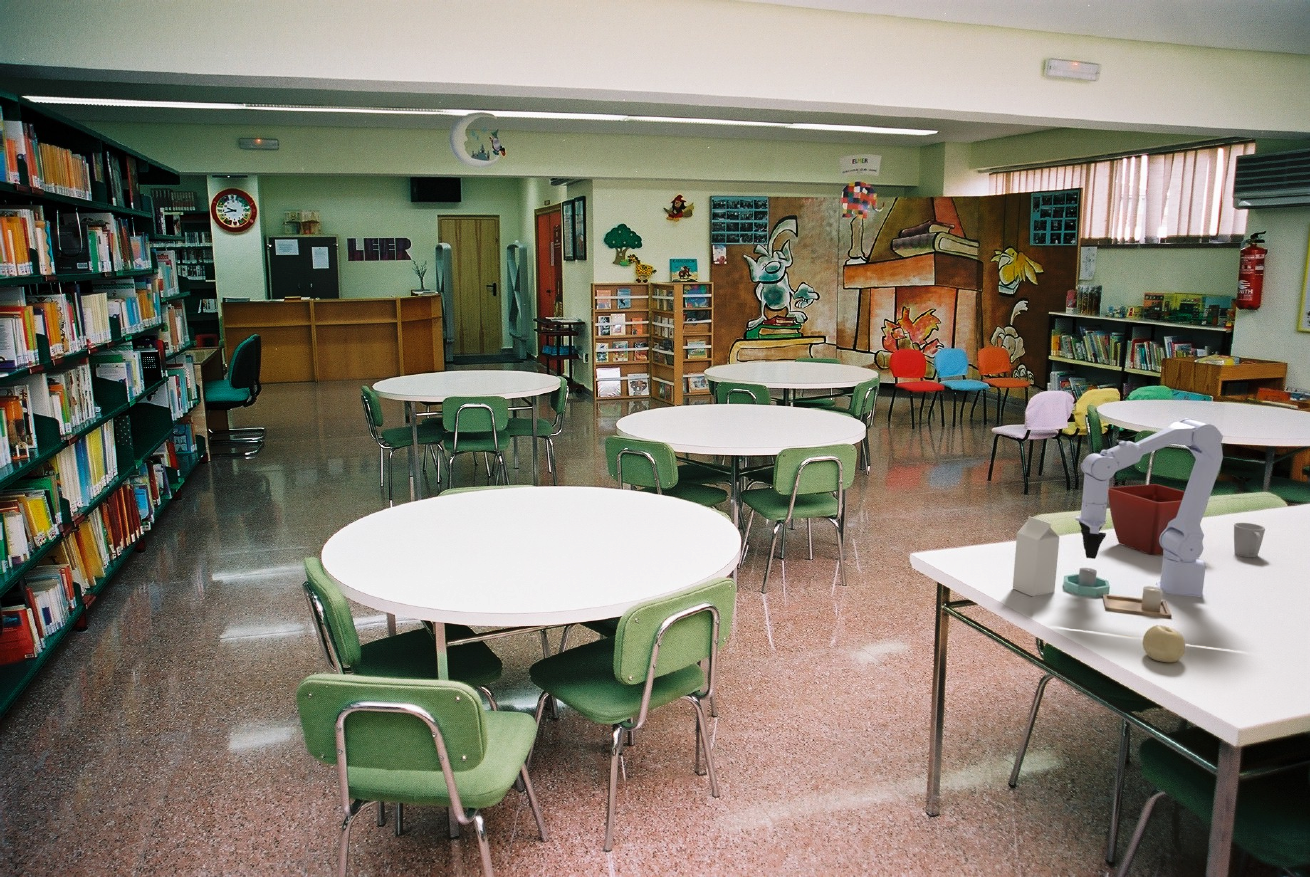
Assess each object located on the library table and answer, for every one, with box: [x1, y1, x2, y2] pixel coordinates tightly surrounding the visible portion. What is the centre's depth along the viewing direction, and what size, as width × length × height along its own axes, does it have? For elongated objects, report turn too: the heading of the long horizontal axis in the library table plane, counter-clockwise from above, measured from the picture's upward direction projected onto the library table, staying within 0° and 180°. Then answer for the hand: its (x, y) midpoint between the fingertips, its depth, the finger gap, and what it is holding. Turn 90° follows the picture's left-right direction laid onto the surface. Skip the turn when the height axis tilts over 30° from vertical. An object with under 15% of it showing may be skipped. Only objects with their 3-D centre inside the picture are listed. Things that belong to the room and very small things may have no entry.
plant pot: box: [1108, 483, 1208, 556], centre depth 272 cm, size 19×19×17 cm
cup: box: [1233, 522, 1266, 558], centre depth 266 cm, size 8×10×8 cm
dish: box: [1063, 573, 1111, 598], centre depth 237 cm, size 10×10×3 cm
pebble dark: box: [1078, 567, 1098, 587], centre depth 237 cm, size 4×4×5 cm
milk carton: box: [1012, 515, 1060, 598], centre depth 235 cm, size 7×7×19 cm
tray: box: [1101, 594, 1172, 619], centre depth 225 cm, size 14×10×1 cm
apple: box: [1142, 624, 1186, 663], centre depth 196 cm, size 8×8×8 cm
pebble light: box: [1141, 585, 1163, 612], centre depth 223 cm, size 4×4×5 cm
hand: (1089, 553), depth 236 cm, fingers open, 7 cm apart
